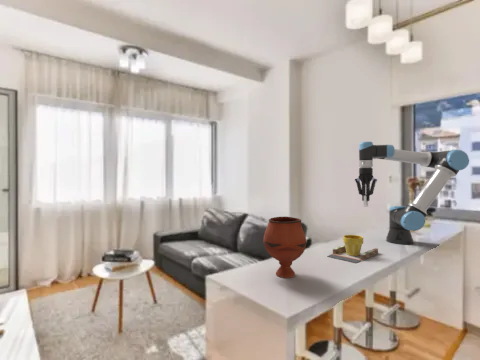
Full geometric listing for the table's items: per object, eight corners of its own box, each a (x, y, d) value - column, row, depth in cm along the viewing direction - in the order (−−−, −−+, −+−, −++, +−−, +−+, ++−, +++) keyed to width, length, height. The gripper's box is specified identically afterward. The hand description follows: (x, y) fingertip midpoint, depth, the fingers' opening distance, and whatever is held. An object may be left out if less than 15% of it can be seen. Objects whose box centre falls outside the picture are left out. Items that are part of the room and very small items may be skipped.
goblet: (278, 264, 144) (277, 214, 143) (314, 273, 131) (314, 218, 131) (255, 275, 129) (254, 219, 128) (293, 286, 117) (293, 224, 116)
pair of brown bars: (348, 247, 175) (348, 242, 175) (378, 253, 162) (378, 248, 162) (332, 253, 162) (332, 248, 162) (363, 260, 149) (363, 255, 149)
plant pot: (364, 257, 154) (364, 239, 154) (344, 256, 157) (344, 238, 157) (361, 252, 164) (361, 235, 164) (342, 251, 167) (342, 234, 167)
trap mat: (332, 254, 161) (332, 253, 161) (361, 260, 149) (361, 259, 149) (327, 256, 156) (327, 255, 156) (356, 263, 145) (356, 262, 145)
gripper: (352, 167, 178) (352, 206, 179) (374, 167, 169) (374, 207, 170) (358, 167, 184) (358, 205, 184) (379, 167, 174) (379, 206, 175)
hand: (365, 206), depth 177 cm, fingers closed
